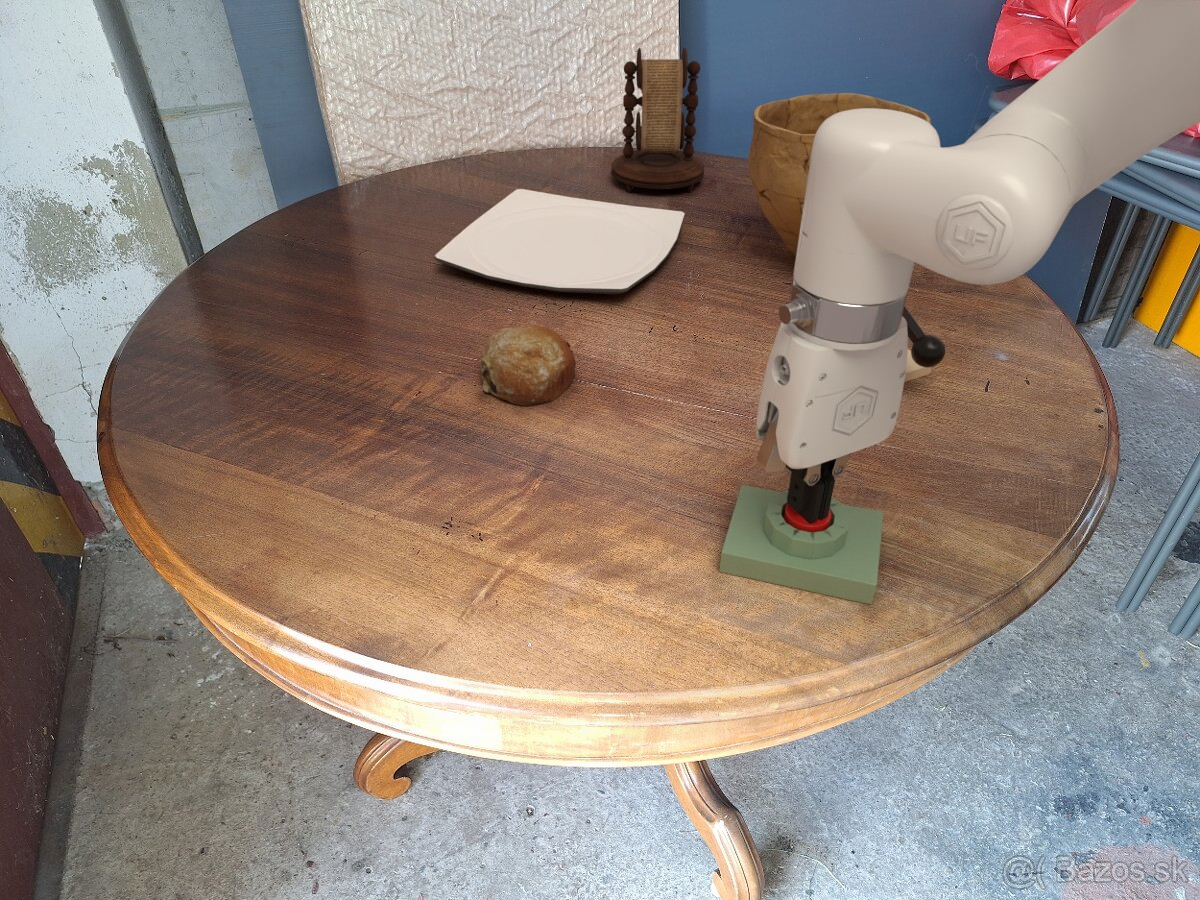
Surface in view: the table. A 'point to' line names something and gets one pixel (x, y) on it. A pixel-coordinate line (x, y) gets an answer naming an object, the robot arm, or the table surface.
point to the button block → (804, 547)
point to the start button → (802, 524)
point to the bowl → (796, 152)
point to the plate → (564, 243)
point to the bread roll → (527, 365)
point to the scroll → (659, 125)
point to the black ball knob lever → (923, 344)
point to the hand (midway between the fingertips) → (806, 510)
